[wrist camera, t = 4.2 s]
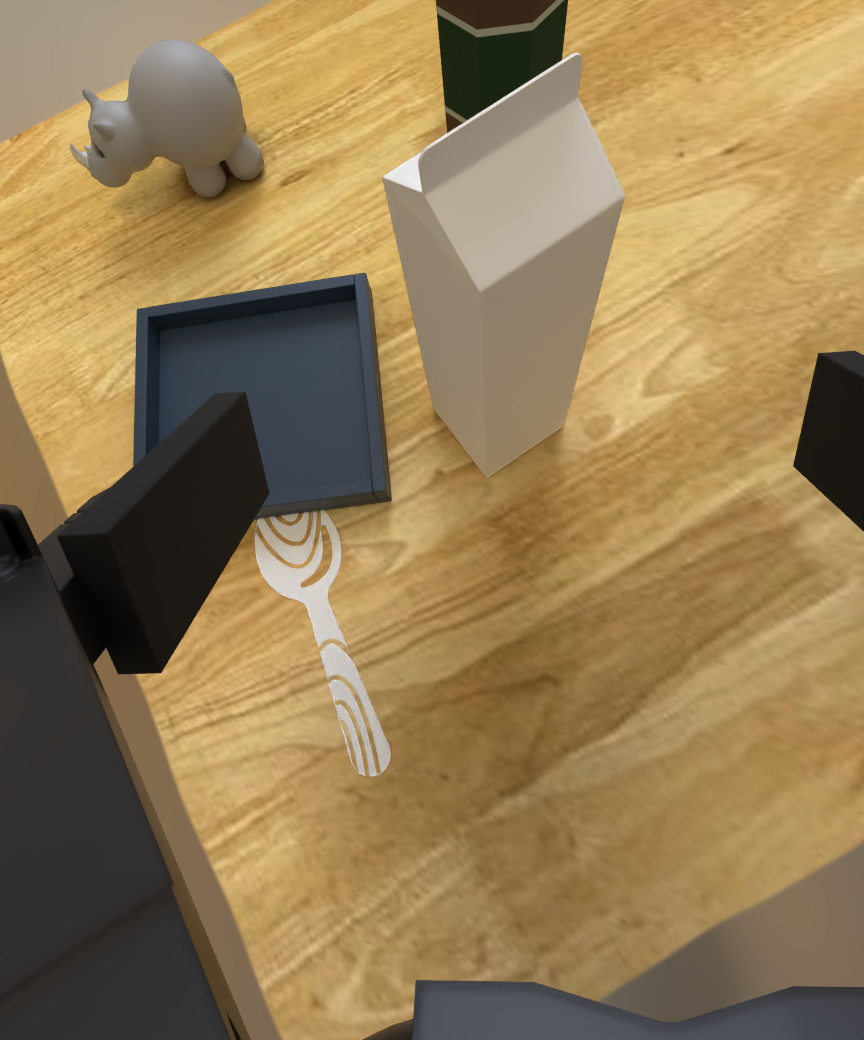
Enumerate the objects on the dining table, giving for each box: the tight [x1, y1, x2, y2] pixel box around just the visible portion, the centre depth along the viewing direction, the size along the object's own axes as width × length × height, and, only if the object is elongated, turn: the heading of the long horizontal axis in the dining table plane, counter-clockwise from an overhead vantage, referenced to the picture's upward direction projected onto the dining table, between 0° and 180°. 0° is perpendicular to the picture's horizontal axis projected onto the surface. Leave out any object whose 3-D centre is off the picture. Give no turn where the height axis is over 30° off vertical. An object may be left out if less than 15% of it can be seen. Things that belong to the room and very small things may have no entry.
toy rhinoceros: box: [70, 40, 264, 197], centre depth 43 cm, size 7×12×8 cm, turn 112°
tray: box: [133, 273, 392, 519], centre depth 40 cm, size 16×15×2 cm
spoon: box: [255, 510, 391, 777], centre depth 37 cm, size 5×18×1 cm, turn 22°
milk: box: [383, 53, 625, 478], centre depth 29 cm, size 6×6×22 cm
